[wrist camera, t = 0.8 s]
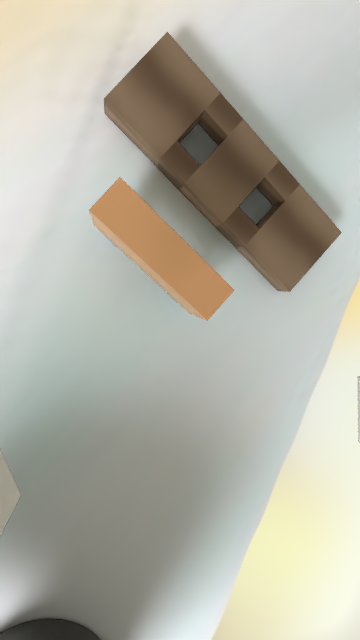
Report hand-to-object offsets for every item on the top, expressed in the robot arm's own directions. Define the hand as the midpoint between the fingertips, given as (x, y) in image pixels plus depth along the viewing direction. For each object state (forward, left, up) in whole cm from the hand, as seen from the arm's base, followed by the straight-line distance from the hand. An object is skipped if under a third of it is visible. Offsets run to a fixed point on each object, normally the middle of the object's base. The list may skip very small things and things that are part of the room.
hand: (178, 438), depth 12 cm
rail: (+18, +4, -22) cm, 28 cm away
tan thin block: (+7, +4, -22) cm, 23 cm away
